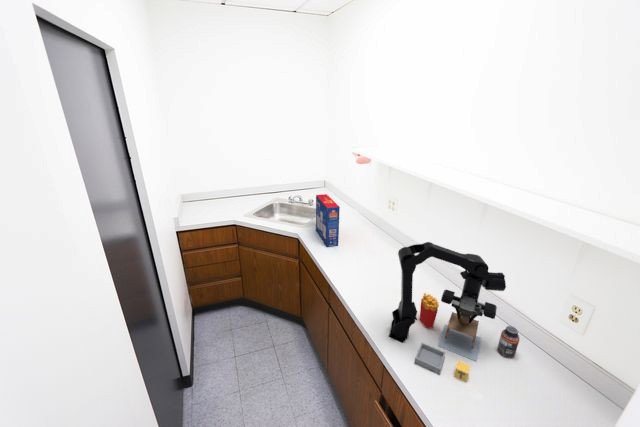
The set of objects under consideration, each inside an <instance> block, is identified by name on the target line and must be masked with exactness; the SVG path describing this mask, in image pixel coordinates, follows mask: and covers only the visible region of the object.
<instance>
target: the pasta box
mask: <svg viewBox="0 0 640 427" xmlns="http://www.w3.org/2000/svg"><path fill="white" fill-rule="evenodd" d="M340 207H341V206H339V205H338V204H337V203H336V201H334V200H333V199H332V198H331V197H330V196H329V194H327V193H325V194H315V232H316V233H317V235H318V234H319V235H318V236H319V237H321V238H320V239H321V240H322V242H323V244H324V245H325V248H333V247H339V240H340V239H339V238H340V237H339V235H340V234H339V233H340V231H339V230H340Z"/></svg>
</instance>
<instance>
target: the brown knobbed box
mask: <svg viewBox="0 0 640 427" xmlns="http://www.w3.org/2000/svg"><path fill="white" fill-rule="evenodd" d="M470 317H471V316H468V315H466V314H462V313H460V318H459V319H458V317H457V312H454V311H452V312H451V314H450V318H449V320H448V323H447V325H448V326H447V331H446V336H445V339H447V336H448V333H449V329H452V330H455V331H458V332H460V333H463V334H466V335H468V336H471V337H473V341H472V346H471V349H473V346H474V342H475V338H476V336H477V334H478V327H479V322H480V321H479V320H476V319H475V318H474V319H473V321H472V322H471V323H469V321H470Z"/></svg>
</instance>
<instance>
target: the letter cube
mask: <svg viewBox="0 0 640 427" xmlns="http://www.w3.org/2000/svg"><path fill="white" fill-rule="evenodd" d="M470 366H471V365H470V364H467V363H465V362H463V361H460V360H457V362H456V366H455V370H454V375H453V377H454V378H456V379H458V380H461V381H463V382H465V383H467V380H468V378H469V372H470V368H471V367H470Z"/></svg>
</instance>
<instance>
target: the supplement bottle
mask: <svg viewBox="0 0 640 427" xmlns="http://www.w3.org/2000/svg"><path fill="white" fill-rule="evenodd" d="M519 343H520V335H519V330H518V329H517V328H516V327H514V326H512V325H507V326H506V327H505V329H502V330H501V333H500V336H499V340H498V344H497V352H498V353H499V354H500V355H501V356H503V357H505V358H509V359H510V358H511V359H513V358H514V357H515V356H516V353H517V349H518V346H519Z"/></svg>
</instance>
